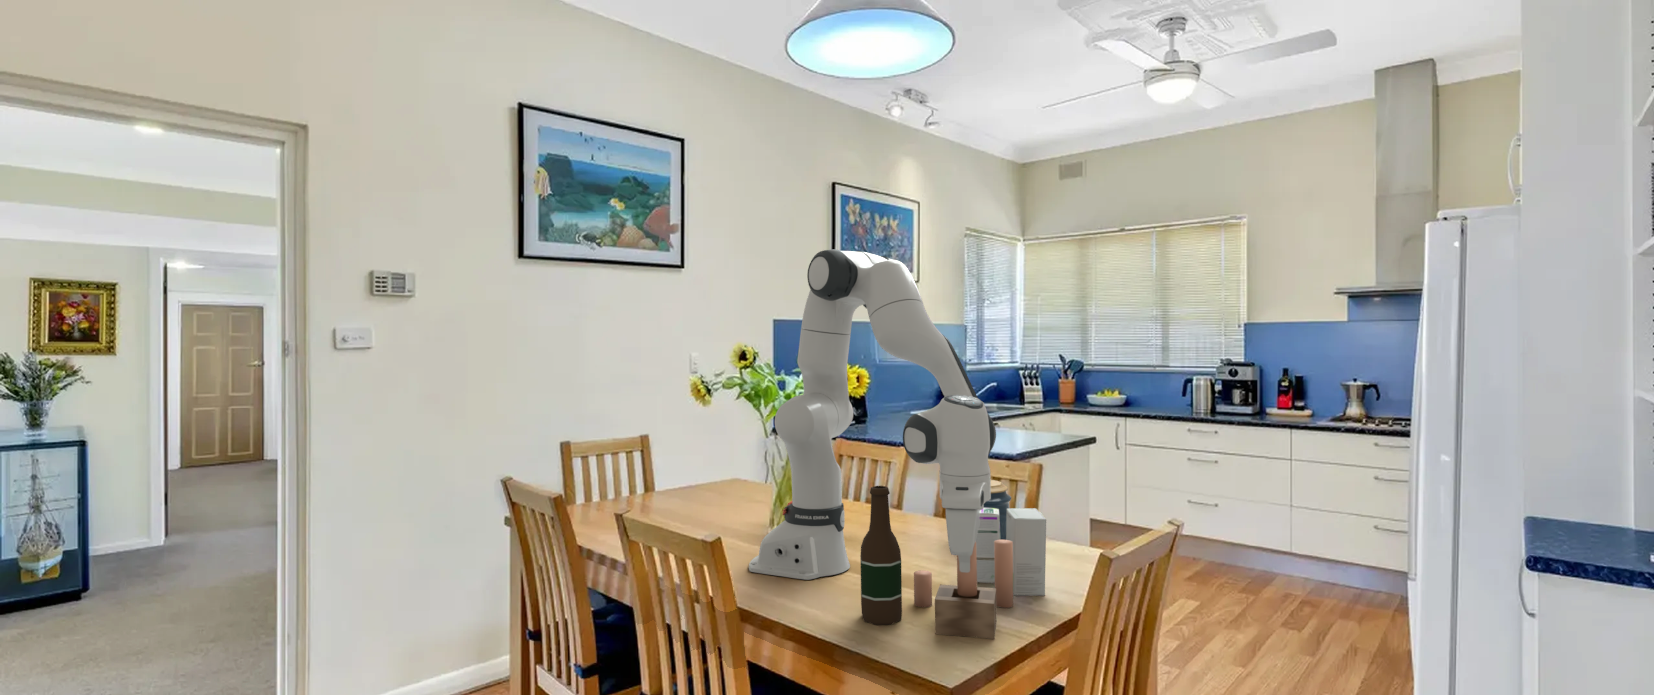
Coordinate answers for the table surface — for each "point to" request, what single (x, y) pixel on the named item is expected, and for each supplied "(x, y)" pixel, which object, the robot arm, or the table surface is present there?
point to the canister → (999, 504)
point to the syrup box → (987, 544)
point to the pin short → (922, 588)
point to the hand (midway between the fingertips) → (966, 567)
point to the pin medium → (968, 577)
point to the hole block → (965, 612)
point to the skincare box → (1027, 550)
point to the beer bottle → (880, 565)
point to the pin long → (1003, 573)
